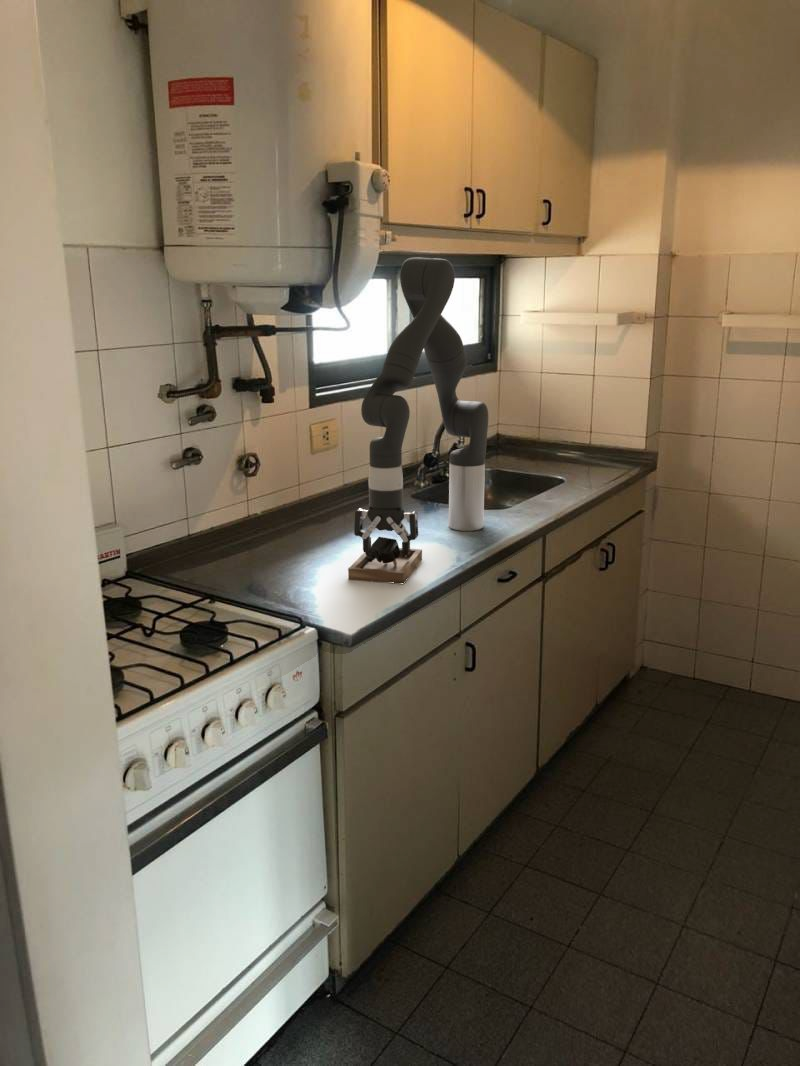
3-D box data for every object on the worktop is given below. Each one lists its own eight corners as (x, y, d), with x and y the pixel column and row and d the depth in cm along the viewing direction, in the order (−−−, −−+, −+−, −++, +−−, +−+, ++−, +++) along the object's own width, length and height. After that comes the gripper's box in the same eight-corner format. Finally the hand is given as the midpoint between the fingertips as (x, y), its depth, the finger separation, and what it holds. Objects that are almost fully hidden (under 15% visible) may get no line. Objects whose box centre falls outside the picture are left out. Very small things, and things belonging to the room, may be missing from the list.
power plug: (349, 562, 185) (379, 528, 192) (359, 588, 189) (387, 554, 196) (370, 567, 182) (399, 532, 189) (379, 593, 186) (407, 558, 193)
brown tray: (371, 555, 202) (371, 545, 201) (422, 559, 199) (422, 549, 198) (348, 579, 186) (348, 568, 185) (403, 584, 183) (403, 573, 182)
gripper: (421, 483, 189) (420, 552, 193) (360, 479, 192) (361, 548, 197) (413, 491, 182) (412, 563, 186) (349, 487, 185) (351, 558, 190)
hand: (386, 555), depth 191 cm, fingers open, 8 cm apart
